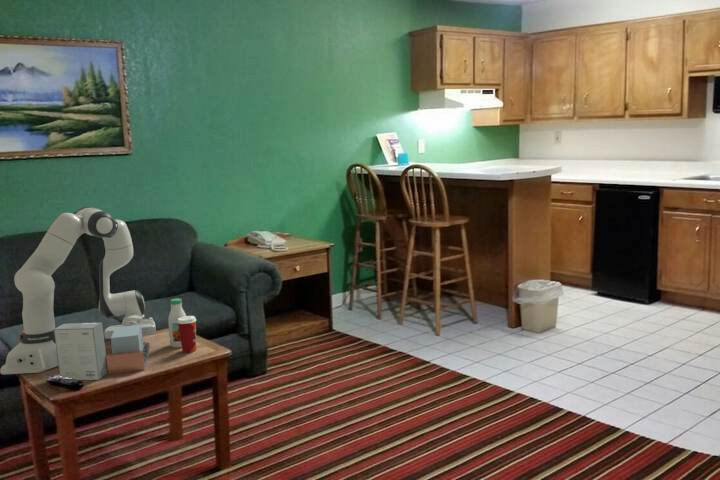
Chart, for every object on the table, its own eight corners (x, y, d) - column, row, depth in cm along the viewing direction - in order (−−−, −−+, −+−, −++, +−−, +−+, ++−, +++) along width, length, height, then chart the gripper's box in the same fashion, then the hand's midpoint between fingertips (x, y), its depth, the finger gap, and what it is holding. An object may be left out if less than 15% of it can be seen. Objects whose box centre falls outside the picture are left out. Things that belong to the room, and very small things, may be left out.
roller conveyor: (108, 374, 246) (106, 356, 245) (117, 350, 274) (115, 334, 272) (144, 369, 249) (142, 352, 248) (149, 346, 276) (148, 331, 275)
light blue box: (113, 360, 251) (110, 338, 249) (117, 349, 264) (115, 327, 263) (140, 357, 253) (138, 335, 252) (143, 346, 266) (141, 325, 265)
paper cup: (201, 351, 268) (198, 318, 266) (183, 355, 264) (180, 321, 262) (194, 346, 275) (192, 314, 272) (177, 350, 271) (174, 317, 268)
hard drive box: (109, 373, 247) (103, 322, 244) (99, 380, 240) (93, 328, 237) (70, 373, 249) (64, 322, 246) (59, 380, 242) (52, 328, 238)
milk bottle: (167, 348, 274) (163, 301, 271) (175, 342, 282) (171, 297, 278) (184, 348, 273) (180, 301, 270) (192, 342, 280) (188, 297, 277)
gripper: (105, 321, 275) (100, 331, 262) (156, 316, 280) (154, 325, 266) (107, 336, 276) (102, 346, 263) (157, 331, 281) (155, 340, 267)
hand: (128, 336), depth 265 cm, fingers closed, pressing on light blue box
